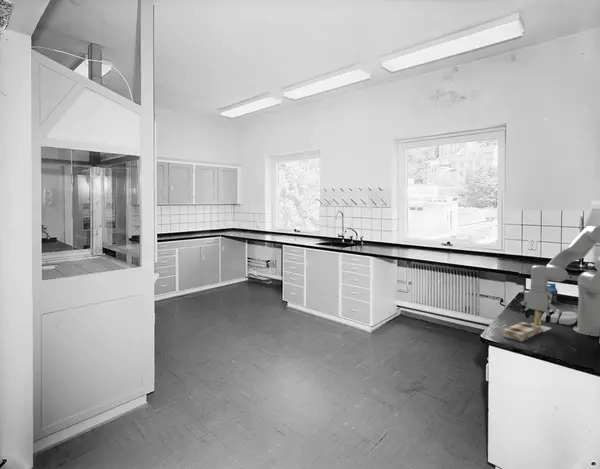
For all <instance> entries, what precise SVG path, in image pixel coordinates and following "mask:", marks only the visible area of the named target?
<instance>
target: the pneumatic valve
mask: <svg viewBox="0 0 600 469" xmlns="http://www.w3.org/2000/svg"><path fill="white" fill-rule="evenodd" d="M528 293H529V290H523V292H522V291H521V292H520V296H519V298H520V300H522V301H524V300H527V297H528ZM525 305H526V306H527V303H526V304H525ZM531 310H534V311H535V309H531Z"/></svg>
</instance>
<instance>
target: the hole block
mask: <svg viewBox="0 0 600 469" xmlns="http://www.w3.org/2000/svg"><path fill="white" fill-rule="evenodd" d="M533 324H534V323H533ZM533 324H531V323H528V322H523V321H521V322H518V323H516V324H513V325H510V326H508V327H505V328H503V329H502V337H505V338H508V339H511V340H515V341H518V342H523V341H527V340H529V339H530V338H531V337H533V336H535V335H538V334H540V333H541V332H542V331H541V326H537V325H533Z"/></svg>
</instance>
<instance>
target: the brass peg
mask: <svg viewBox="0 0 600 469" xmlns="http://www.w3.org/2000/svg"><path fill="white" fill-rule="evenodd" d="M533 316H534V318H533V322H534V323H533V324H534V325H537V326H541V325H542V320H541V316H542V311H540V310H535V309H534V315H533Z"/></svg>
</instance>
